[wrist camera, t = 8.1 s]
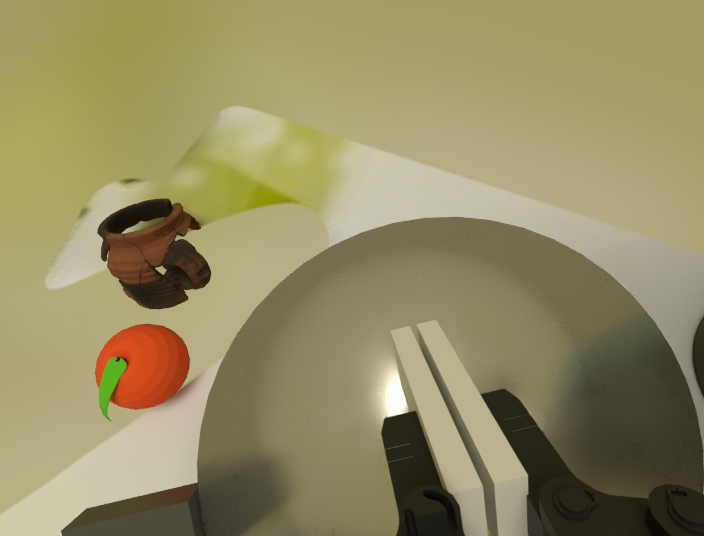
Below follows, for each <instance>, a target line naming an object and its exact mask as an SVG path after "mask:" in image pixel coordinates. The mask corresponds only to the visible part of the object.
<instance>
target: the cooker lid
mask: <svg viewBox="0 0 704 536" xmlns="http://www.w3.org/2000/svg"><path fill="white" fill-rule="evenodd" d="M433 320H436V321H437V322H438V324H439V326H440V327H441V329H442V331H443V332H444V334H445V336H446V338H447V339H448V341H449V343H450V344H451V346H452V348H453V349H454V351H455V353H456V354H457V356H458V358H459V360H460V361H461V363H462V365H463V366H464V368H465V370H466V371H467V373H468V375H469V376H470V378H471V380H472V382H473V383H474V385H475V387H476V388H477V390H478V392H479V393H480V394H483V393H487V392H491V391H495V390H500V389H506V390H507V391H509V392H510V393H511V394H513V395H514V396H516V397H517V398H519V399H520V401H521V402H522V404H523V405H524V406H525V408H526V409H527V411H528V412H529V414H530V415H531V416H532V418H533V419H534V420H535V422H536V423H537V425H538V427H540V429H541V430H542V431H543V433H544V434H545V436H546V437H547V438H548V440H549V441H550V443H551V444H552V445H553V447H554V448H555V450H556V451H557V452H558V454H559V455H560V457H561V458H562V459H563V461H564V462H565V464H566V465H567V466H568V468H569V469H570V471H571V472H572V473H573V474H574V475H575V476H576V477H577V478H578V479H579V480H580V481H582V482H584V483H586V484H587V485H589V486H591V487H592V488H593V489H595V490H597V491H600V492H603V493H605V494H610V495H616V496H626V497H637V498H648V497H649V494H650V492H651V491H652V490H653V489H654V488H655V487H657V486H661V485H665V484H672V485H681V486H684V487H687V488H690V489H693V490H696V491H698V492H699V493H701V494H703V485H704V467H703V447H702V440H701V434H700V429H699V423H698V418H697V412H696V409H695V406H694V403H693V400H692V396H691V393H690V390H689V387H688V384H687V381H686V378H685V376H684V374H683V372H682V370H681V368H680V366H679V363H678V361H677V359H676V357H675V355H674V353H673V350H672V349H671V347H670V346H669V344H668V342H667V341H666V339H665V338H664V336H663V335H662V333H661V331H660V330H659V328H658V327H657V325H656V324H655V322H654V321H653V320H652V318H651V317H650V316H649V315H648V314H647V312H646V311H645V310H644V309H643V307H642V306H641V305H640V304H639V303H638V301H637V300H636V299H635V298H634V297H633V296H632V295H631V294H630V293H629V292H628V291H627V290H626V289H625V288H624V287H623V286H622V285H620V284H619V283H618V282H617V281H616V280H615V279H614V278H613V277H612V276H611V275H610V274H608V273H607V272H606V271H604V270H603V269H601V268H600V267H599V266H597V265H596V264H594V263H593V262H592V261H590V260H589V259H587V258H586V257H585V256H583V255H582V254H580V253H578V252H576V251H574V250H572V249H570V248H569V247H567V246H565V245H563V244H561V243H559V242H557V241H555V240H554V239H551V238H548V237H546V236H543V235H540V234H538V233H535V232H533V231H530V230H527V229H525V228H522V227H517V226H513V225H509V224H504V223H500V222H496V221H492V220H483V219H473V218H463V217H441V218H422V219H416V220H410V221H404V222H397V223H392V224H389V225H385V226H382V227H379V228H375V229H372V230H369V231H366V232H362V233H360V234H358V235H355V236H353V237H351V238H349V239H346V240H344V241H342V242H340V243H338V244H335V245H333V246H331V247H330V248H328V249H326V250H325V251H323V252H321V253H320V254H318V255H317V256H315V257H313V258H312V259H310V260H309V261H307V262H305V263H304V264H303V265H301V266H300V267H299V268H298V269H296V270H295V271H294V272H293V273H291V274H290V275H289V276H288V277H287V278H285V279H284V280H283V281H282V282H280V283H279V284H278V285H277V286H276V287H275V288H274V289H273V290H272V291H271V293H270V294H269V295H268V296H267V297H266V298H265V299H264V300H263V301H262V302H261V303H260V304H259V305H258V306H257V307H256V309H255V310H254V311H253V313H252V314H251V315H250V317H249V318H248V320H247V321H246V323H245V324H244V325H243V327H242V328H241V329H240V331H239V332H238V333H237V335H236V337H235V338H234V340H233V342H232V344H231V346H230V348H229V350H228V352H227V353H226V355H225V357H224V359H223V361H222V362H221V364H220V367H219V370H218V372H217V375H216V378H215V380H214V383H213V385H212V388H211V391H210V393H209V396H208V400H207V404H206V409H205V413H204V417H203V421H202V425H201V431H200V441H199V450H198V459H197V469H198V483H194V484H190V485H186V486H181V487H177V488H173V489H168V490H164V491H160V492H156V493H151V494H147V495H143V496H138V497H134V498H130V499H126V500H121V501H117V502H113V503H109V504H104V505H100V506H96V507H91V508H87V509H86V510H84V511H83V512H82V513H81V514H80V515H79V516H78V517H76V518H75V519H74V520H73V521H72V522H71V523H70V524H69V525H67V526H66V527H65V528H64V529H63V530H62V531H61V532H62V536H396V534H397V532H398V526H399V514H398V509H397V504H396V500H395V495H394V490H393V486H392V481H391V477H390V472H389V468H388V463H387V458H386V454H385V449H384V445H383V440H382V435H381V431H382V426H383V422H384V418H387V417H391V416H395V415H399V414H403V413H408V412H409V409H408V406H407V402H406V399H405V396H404V393H403V390H402V387H401V383H400V378H399V373H398V368H397V362H396V357H395V352H394V347H393V342H392V337H391V332H390V330H394V329H399V328H403V327H407V326H410V327H411V330H412V332H413V334H414V336H415V338H416V341H417V343H418V345H419V347H420V344H419V337H418V331H417V325H416V324H420V323H424V322H428V321H433ZM487 533H488V536H491V535H490V532H489V530H488V528H487Z"/></svg>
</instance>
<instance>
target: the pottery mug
mask: <svg viewBox="0 0 704 536" xmlns="http://www.w3.org/2000/svg"><path fill="white" fill-rule="evenodd" d="M161 217H166V218H165V219H164V220H163V221H162V222H159V223H157V224H155V225H153V226H150V227H148V228H145V229H142V230H139V231H135V232H130V233H126V234H121V233H122V232H123V231H124V230H125V229H127V228H129V227H132V226H134V225H136V224H138V223H139V222H140V221H144V222H145V221H150V220H153V219H156V218H161ZM189 227H190V228H191V229H193V230H199V229H201V227H200V226H199V223H198V222H197V221H196V220H195V218H193V217H192V216H191V215H190V214H188V213H186V212H184V211H183V207H182V205H181V204H180V203H175V204H173V205H172V204H171V201H170V200H169V199H153V200H147V201H143V202H140V203H138V204H133V205H130V206H127V207H125V208H123V209H121V210H119V211H117V212H115V213H113V214H111V215H110V216H109V217H107V218H106V219H105V220H104V221H103V222H102V223H101V224H100V225H99V228H98V234H99V235H100V236H101V237H102V238H103V243H102V247H101V258H102V260H103V261H104V262H105V261H106V260H107V254H108V251H109V250H110V251H109V254H108V255H109V256H108V260H107V261H108V264H107V267H108V268H109V270H110V272H111V274H112V275H113V276H115V277H117V278H118V279H119V282H120V283H121V285H122V286H123V287H124V288H123V290H124V292H125V293H126V295H127V296H128V297H130V298H132V299H133V300H135V301H136V302H137V303H138V304H139V305H140V306H142V307H145V308H149V309H163V308H170V307H173V306H176V305H178V304H180V303H183V302H185V301H186V300H188V296H187V295H186V294H185V291H184V290H189V289H199V288H203V287H205V285H206V284H207V283H208V282H209V281H210V276H211V270H210V267H209V265H208V263H207V262H206V260H205V259H204V257H203V256H202V255H200V254H199V253H198V252H197V251H196V249H195V247H194V246H193V245H191V244H190V243H189V242H188V241H186V240H183V239H180V240H177V241H175V238H176V236H177V235H180V236H182V237H183V236H185V235H186V233H187V231H188V228H189ZM162 265H163V267H164V268H165V269H167V271H166V273H165V274H164V275H162V274H161V273H159V272H158V271H157V270H156V269H155V268H156V267H160V266H162Z"/></svg>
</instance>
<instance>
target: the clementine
mask: <svg viewBox="0 0 704 536" xmlns="http://www.w3.org/2000/svg"><path fill="white" fill-rule="evenodd" d="M189 362H190V358H189V354H188V350H187V347H186V345H185V343H184V341H183V340H182V338H180V337H179V336H178V335H177V334H176V333H175V332H174V331H172V330H170V329H168V328H166V327H164V326H160V325H152V324H141V325H136V326H132V327H129V328H127V329H124V330H122V331H120V332H119V333H117V334H116V335H114V336H113V337H112V338H111V339H110V340H109V341H108V342H107V343H106V344H105V346H104V348H103V349H102V351H101V352H100V354H99V357H98V359H97V363H96V371H95V375H96V382H97V385H98V387H99V402H100V408H101V410H102V412H103V415H104V416H105V417H106V418H107V419H108V420H109V421H111V420H110V419H109V418H108V416H107V408H108V404H109V401H111V402H112V403H114V404H116V405H118V406H120V407H124V408H129V409H135V410H137V409H144V408H150V407H154V406H156V405H159V404H161V403H163V402H165V401H166V400H168V399H169V398H170V397H172V396H173V395H174V394H175V393H176V392H177V391H178V390H179V389H180V387H181V386H182V385H183V383H184V381H185V379H186V377H187V374H188V371H189Z"/></svg>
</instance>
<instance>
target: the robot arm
mask: <svg viewBox="0 0 704 536" xmlns="http://www.w3.org/2000/svg"><path fill="white" fill-rule="evenodd" d="M416 325H417V331H418V337H419V344H420V347H419V345H418V343H417V341H416V338H415V336H414V334H413V332H412V330H411V327H410V326H407V327H403V328H399V329H394V330H390V332H391V337H392V342H393V347H394V352H395V357H396V362H397V368H398V373H399V378H400V383H401V387H402V390H403V393H404V396H405V399H406V402H407V406H408V409H409V412H408V413H403V414H399V415H395V416H391V417H387V418H384V422H383V426H382V431H381V435H382V440H383V445H384V449H385V454H386V458H387V463H388V468H389V472H390V477H391V481H392V486H393V490H394V495H395V500H396V504H397V509H398V514H399V526H398V532H397V534H396V536H488V533H487V528H488V530H489V532H490V535H491V536H704V495H703V494H701V493H699V492H698V491H696V490H693V489H690V488H687V487H684V486H681V485H672V484H665V485H661V486H657V487H655V488H654V489H653V490H652V491H651V492H650V494H649V497H648V498H637V497H626V496H616V495H610V494H605V493H603V492H600V491H597V490H595V489H593V488H592V487H591V486H589V485H587V484H586V483H584V482H582V481H580V480H579V479H578V478H577V477H576V476H575V475H574V474H573V473H572V472H571V471H570V469H569V468H568V466H567V465H566V464H565V462H564V461H563V459H562V458H561V457H560V455H559V454H558V452H557V451H556V450H555V448H554V447H553V445H552V444H551V443H550V441H549V440H548V438H547V437H546V436H545V434H544V433H543V431H542V430H541V429H540V427H538V425H537V423H536V422H535V420H534V419H533V418H532V416H531V415H530V414H529V412H528V411H527V409H526V408H525V406H524V405H523V404H522V402H521V401H520V399H519V398H517V397H516V396H514V395H513V394H511V393H510V392H509V391H507V390H506V389H500V390H495V391H491V392H487V393H483V394H480V393H479V392H478V390H477V388H476V387H475V385H474V383H473V382H472V380H471V378H470V376H469V375H468V373H467V371H466V370H465V368H464V366H463V365H462V363H461V361H460V360H459V358H458V356H457V354H456V353H455V351H454V349H453V348H452V346H451V344H450V343H449V341H448V339H447V338H446V336H445V334H444V332H443V331H442V329H441V327H440V326H439V324H438V322H437V321H436V320H433V321H428V322H424V323H420V324H416ZM694 361H695V368H696V373H697V377H698V380H699V383H700V386H701V388H702V391H703V393H704V319H703V320H702V322H701V324H700V326H699V328H698V331H697V334H696V338H695V344H694Z"/></svg>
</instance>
